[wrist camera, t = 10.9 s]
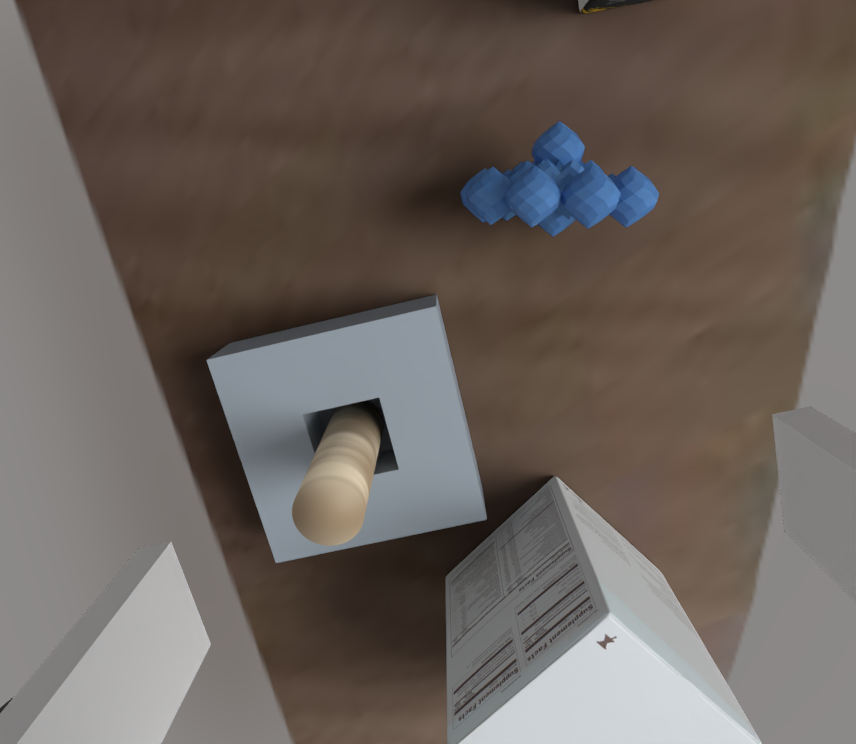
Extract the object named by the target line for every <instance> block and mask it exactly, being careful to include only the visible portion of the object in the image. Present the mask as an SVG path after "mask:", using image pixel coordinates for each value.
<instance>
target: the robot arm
mask: <svg viewBox="0 0 856 744" xmlns="http://www.w3.org/2000/svg"><path fill="white" fill-rule="evenodd" d="M772 417H773V427H774V437H775V446H776V456H777V466H778V475H779V485H780V495H781V504H782V513H783V524H784V532H785V533H786V534H787V535H788V536H789V537H790V538H791V539H792V540H793V541H794V542H795V543H796V544H797V545H798V546H799V547H800V548H801V549H802V550H803V551H804V552H805V553H806V554H807V555H808V556H809V557H810V558H811V559H812V560H813V561H814V562H815V563H816V564H818V566H819V567H820V568H822V570H823V571H824V572H825V573H826V574H827V575H829V577H831V579H833V580H834V581H835V582H836V583H837V584H838V585H839V586H840V587H841V588H842V589H843V590H844V591H845V592H846V593H847V594H848V595H849V596H850V597H851V598H852V599H853V600H854V601H855V602H856V433H855V432H853V431H851V430H850V429H848V428H846V427H844V426H843V425H841V424H839V423H838V422H836V421H834V420H833V419H831V418H829V417H827V416H826V415H824V414H822V413H820V412H819V411H817V410H815V409H813V408H812V407H805V408H800V409H796V410H791V411H786V412H781V413H777V414H772ZM210 645H211V643H210V641H209V638H208V636H207V633H206V631H205V628H204V625H203V623H202V621H201V618H200V615H199V612H198V610H197V608H196V605H195V602H194V600H193V597H192V594H191V592H190V589H189V587H188V584H187V582H186V579H185V576H184V574H183V571H182V568H181V566H180V564H179V561H178V558H177V556H176V553H175V550H174V548H173V545H172V543H171V542H167V543H162V544H157V545H153V546H148V547H143V548H139V549H138V550H137V551H136V552H135V553H134V555H133V556H132V557H131V558H130V559H129V561H128V562H127V563H126V564H125V565H124V567H123V568H122V569H121V570H120V571H119V572H118V574H117V575H116V576H115V577H114V578H113V580H112V581H111V582H110V583H109V584H108V586H107V587H106V588H105V589H104V590H103V592H102V593H101V594H100V595H99V596H98V598H97V599H96V600H95V601H94V603H92V605H91V606H90V607H89V608H88V609H87V611H86V612H85V613H84V614H83V615H82V617H81V618H80V619H79V620H78V622H77V623H76V624H75V625H74V626H73V627H72V629H71V630H70V631H69V632H68V633H67V634H66V636H65V637H64V638H63V639H62V640H61V642H60V643H59V644H58V645H57V647H56V648H55V649H54V650H53V651H52V652H51V654H50V655H49V656H48V657H47V658H46V660H45V661H44V662H43V663H42V664H41V665H40V667H39V668H38V669H37V670H36V671H35V673H34V674H33V675H32V676H31V678H30V679H29V680H28V681H27V682H26V684H25V685H24V686H23V687H22V688H21V689H20V691H19V692H18V693H17V694H16V695H15V696H14V698H12V699H11V700H9V701H8V702H7V703H6V704H4V705H3V706H2V707H1V708H0V744H161V743H162V741H163V739H164V737H165V735H166V733H167V731H168V729H169V727H170V725H171V723H172V721H173V719H174V717H175V715H176V713H177V711H178V709H179V707H180V705H181V703H182V701H183V699H184V697H185V695H186V693H187V691H188V689H189V687H190V685H191V683H192V681H193V679H194V677H195V675H196V673H197V671H198V669H199V667H200V665H201V663H202V661H203V659H204V657H205V655H206V653H207V651H208V649H209V647H210Z"/></svg>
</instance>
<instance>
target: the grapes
mask: <svg viewBox="0 0 856 744" xmlns="http://www.w3.org/2000/svg"><path fill="white" fill-rule="evenodd" d="M584 149H585V146H584V145H583V143H582V142H581V140H580V139H579V137H578V136H577V134H576V133H575V132H573V131H572V130H571V129H569V128H568V127H567V126H566V125H564V124H563V123H562V122H560V121H559V122H557V123H556V124H555V125H553V126H552V127H551V128H549V129H548V130H547V131H546V132H544V133H543V134H542V135H541V136H540V137H539V138H538V139H537V140H536V142H535V143H534V146H533V148H532V156H533V158H534V160H535V161H534V162H532V163H530V162H529V161H528V160H527V161H526V162H525V163H524V162H523V161H522V162H521V163H520V164H519V165H517V166H516V167H515V168H514V169H513V170H512V171H510V170H509V169H508V170H507V171H505V172H504V173H501V172H500V171H498V170H497V169H496V168H494V167H491V168H490V169H488V170H487V169H485V168H484V169H483V170H481V171H480V172H479V173H477V174H476V175H475V176H474V177H472V178H471V179H470V180H469V181H468V182H467V183H466V184H465V185H464V187H463V189H462V190H461V192H460V194H461V200H462V203H463V205H464V206H465V207H466V208H467V209H468V210H469V211H470V212H471V213H472V214H473V215H474V216H475V217H477V218H478V219H479V220H481V221H482V222H485V221H486V222H488V223H489V224H490V225H492V224H493V223H495V222H496V221H498V220H499V219H501V218H503V219H504V220H506V221H507V220H509V219H510V218H512V217H513V216H515V215H517V216H518V217H519V218H520V219H521V220H523V221H524V222H525V223H526V224H528V225H529V226H530V227H534V226H535V225H537V224H538V225H539V226H540V227H541V228H542V229H544V230H545V231H546V232H547V233H549V234H550V235H551V236H553V237H554V236H555V235H557V234H558V233H560V232H561V231H563V230H564V229H565V228H566V227H568V226H569V225H570V224H571V223H573V222H574V221H575V220H577V221H579V222H580V223H581V224H582V225H584V226H585V227H586V228H588V229H589V228H590V227H592V226H593V225H595V224H597V223H598V222H600V221H601V220H602V219H603V218H605V217H606V216H607V215H608V214H609V215H611V216H612V217H613V218H614V219H616V220H617V221H618V222H619V223H621V224H622V225H623V226H625V227H626V228H627V227H628V226H630V225H632V224H633V223H635V222H637V221H638V220H639V219H641V218H642V217H643V216H645V215H646V214H647V213H648V212H650V211H651V210H652V209H653V208H654V207H655V205H656V202H657V199H658V196H659V193H658V191H657V189H656V188H655V186H654V185H653V183H652V182H651V181H650V179H648V178H647V177H646V176H644V175H643V174H642V173H641V172H639V171H638V170H637V169H635V168H634V167H633V166H630V167H629V168H627V169H626V170H624V171H623V172H621V173H620V174H619V175H617V176H615V175H614V174H610V175H609V176H607V175H605V174H604V172H603V171H602V169H601V168H600V167H599V166H598V165H597V164H596V163H594V162H593V161H592V160H590V161H589V162H587V163H586V164H585V163H583V162H582V161H581V159H582V156H583V154H584Z"/></svg>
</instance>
